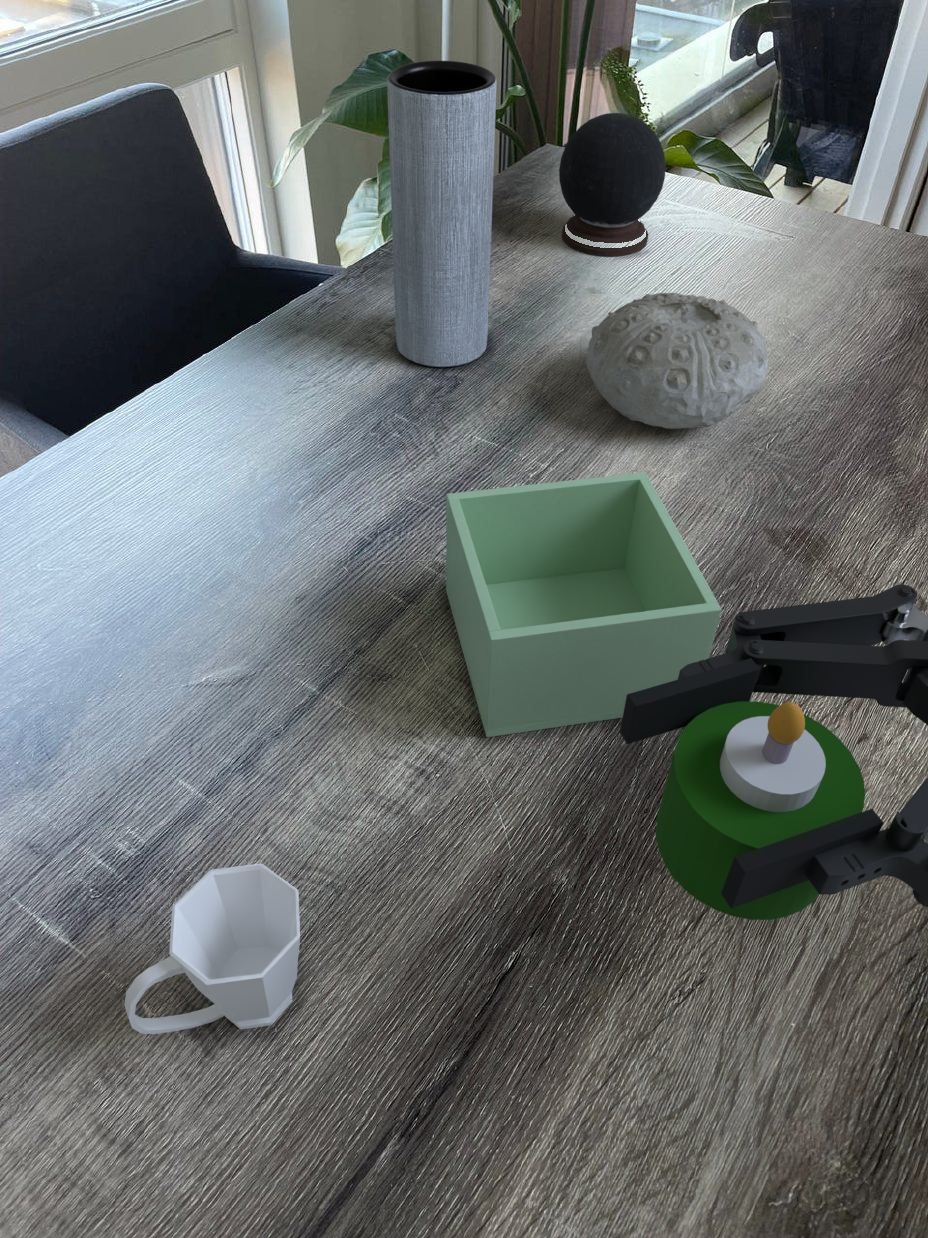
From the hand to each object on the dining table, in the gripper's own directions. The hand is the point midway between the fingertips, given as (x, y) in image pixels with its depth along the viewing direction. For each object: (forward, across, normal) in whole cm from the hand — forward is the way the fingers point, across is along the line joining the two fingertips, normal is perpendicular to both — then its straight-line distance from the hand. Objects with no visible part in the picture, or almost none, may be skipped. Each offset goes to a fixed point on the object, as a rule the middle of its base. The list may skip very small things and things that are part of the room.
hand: (676, 795), depth 43 cm
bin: (-9, +27, -20) cm, 35 cm away
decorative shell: (-34, +55, -20) cm, 68 cm away
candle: (-5, 0, -6) cm, 8 cm away
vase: (-16, +73, -20) cm, 78 cm away
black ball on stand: (-46, +93, -20) cm, 105 cm away
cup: (+21, +8, -20) cm, 30 cm away
